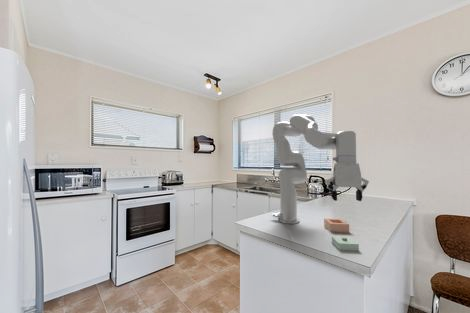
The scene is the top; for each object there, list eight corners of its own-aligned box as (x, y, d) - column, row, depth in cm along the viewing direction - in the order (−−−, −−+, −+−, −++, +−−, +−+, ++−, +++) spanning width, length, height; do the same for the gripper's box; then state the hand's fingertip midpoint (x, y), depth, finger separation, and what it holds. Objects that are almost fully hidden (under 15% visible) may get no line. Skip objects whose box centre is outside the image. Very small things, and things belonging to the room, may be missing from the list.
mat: (338, 251, 79) (338, 250, 79) (330, 243, 87) (330, 241, 87) (359, 252, 79) (359, 251, 79) (350, 243, 87) (350, 242, 87)
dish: (330, 232, 100) (330, 223, 100) (324, 226, 109) (324, 218, 109) (349, 233, 99) (349, 224, 99) (341, 227, 108) (341, 219, 108)
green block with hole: (338, 249, 80) (338, 241, 80) (331, 242, 87) (331, 234, 87) (358, 250, 79) (358, 242, 79) (349, 243, 86) (349, 235, 86)
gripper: (327, 160, 83) (328, 201, 82) (372, 160, 81) (373, 202, 80) (322, 160, 90) (322, 198, 90) (363, 160, 88) (363, 199, 88)
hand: (346, 200), depth 85 cm, fingers open, 9 cm apart
